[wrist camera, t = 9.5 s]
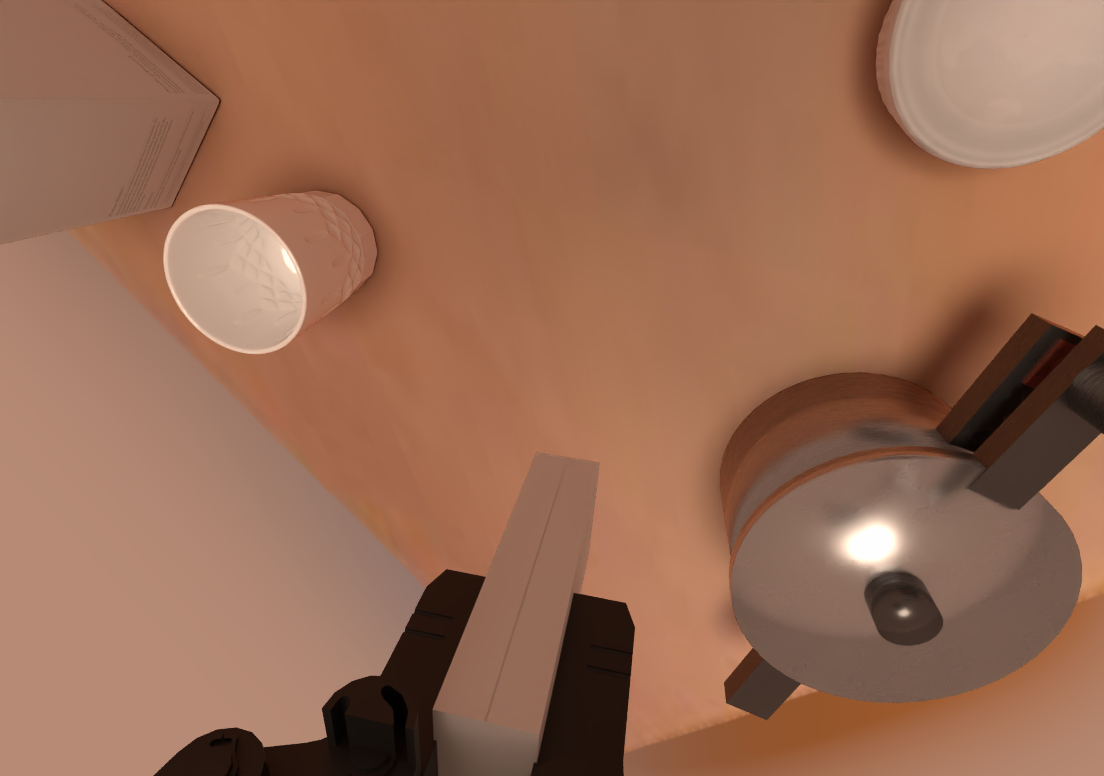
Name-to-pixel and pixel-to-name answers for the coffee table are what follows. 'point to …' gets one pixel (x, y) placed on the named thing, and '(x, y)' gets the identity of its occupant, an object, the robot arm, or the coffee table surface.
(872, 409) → the pot
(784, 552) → the lid
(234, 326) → the white cup
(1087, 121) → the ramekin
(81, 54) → the supplement box
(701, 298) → the coffee table surface
